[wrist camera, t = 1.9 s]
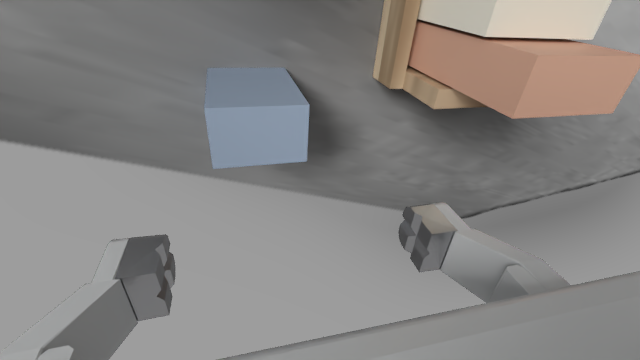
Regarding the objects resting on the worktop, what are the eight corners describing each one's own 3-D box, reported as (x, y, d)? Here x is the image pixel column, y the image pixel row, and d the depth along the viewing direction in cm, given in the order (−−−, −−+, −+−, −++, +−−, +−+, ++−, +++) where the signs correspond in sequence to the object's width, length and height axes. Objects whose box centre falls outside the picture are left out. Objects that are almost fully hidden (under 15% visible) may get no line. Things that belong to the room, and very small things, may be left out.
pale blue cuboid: (213, 115, 23) (212, 169, 17) (207, 67, 21) (204, 108, 15) (284, 113, 24) (306, 161, 18) (284, 67, 23) (309, 104, 17)
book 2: (400, 61, 23) (512, 118, 15) (409, 19, 22) (538, 55, 13) (473, 61, 25) (612, 113, 16) (485, 22, 24) (646, 56, 15)
